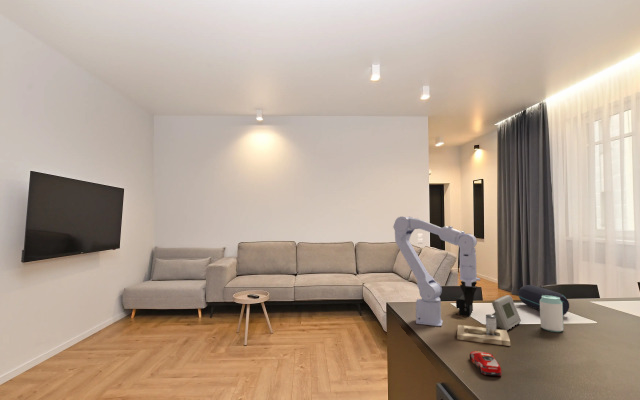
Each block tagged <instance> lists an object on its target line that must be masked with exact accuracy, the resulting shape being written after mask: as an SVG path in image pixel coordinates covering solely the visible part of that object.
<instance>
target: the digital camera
mask: <svg viewBox="0 0 640 400" xmlns="http://www.w3.org/2000/svg"><path fill="white" fill-rule="evenodd" d="M455 301H456V302H455V307H456V309H458V314H459V316H461V315H463V316H462V317H469V316H470V317H471V315H472V314H471V313H473V312H472V311H474V306H473V305H474V304H472V305H466V303H465V298H464V294H462V295H461V296H460V297H456V300H455Z"/></svg>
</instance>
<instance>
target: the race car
mask: <svg viewBox="0 0 640 400" xmlns="http://www.w3.org/2000/svg"><path fill="white" fill-rule="evenodd" d="M469 360H470V362H472V363H473V364H474V366H475V367H476V369H477V370H478V372H479V373H480V374H483V375H485V376H498V377H499V376H502V368H501V366H500V365H501V364H499V362H498V361H497V360H496V358H495V357H494V355H493V354H491V353H489V352H484V351H481V350H480V351H479V350H474V351H471V352H470V353H469Z"/></svg>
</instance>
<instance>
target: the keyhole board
mask: <svg viewBox="0 0 640 400" xmlns="http://www.w3.org/2000/svg"><path fill="white" fill-rule="evenodd" d="M496 332H497V336H492V335H486V327H481V326H479V327H478V326H472V325H471V326H470V325H463V324H462V325H461V324H457V333H456V339H457V340H460V341H469V342H477V343H485V344H493V345H499V346H508V347H511V340H510V336H509V333H508V330H503V329H500V328H499V329H498V328H496Z"/></svg>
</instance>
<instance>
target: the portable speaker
mask: <svg viewBox="0 0 640 400" xmlns="http://www.w3.org/2000/svg"><path fill="white" fill-rule="evenodd" d="M517 294H518V295H517V296H518V298H519V300H520V301H521V302H522V303H523V304H524V305H526V306H527V307H531V308H532V309H536V310H537V311H540V299H541V298H542V297H541V296H556V297H559V298H560V300H561V302H562V305H563V316H564V315H566V314H567V313H568V312H569V309H570V302H569V300H568V298H567V297H566V296H565V295H564V294H562V293H560V292H557V291H553V290H550V289H548V288H543V287H541V286H537V285H534V284H527V285H524V286H521V287H520V289H519V290H518V293H517Z"/></svg>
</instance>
